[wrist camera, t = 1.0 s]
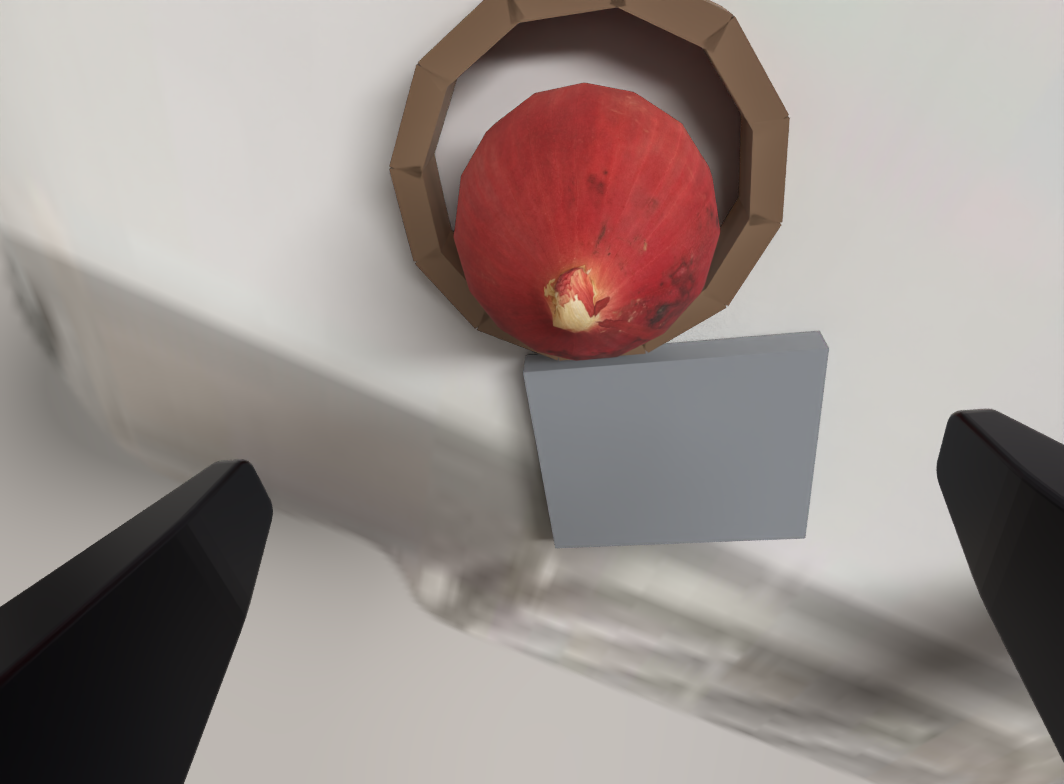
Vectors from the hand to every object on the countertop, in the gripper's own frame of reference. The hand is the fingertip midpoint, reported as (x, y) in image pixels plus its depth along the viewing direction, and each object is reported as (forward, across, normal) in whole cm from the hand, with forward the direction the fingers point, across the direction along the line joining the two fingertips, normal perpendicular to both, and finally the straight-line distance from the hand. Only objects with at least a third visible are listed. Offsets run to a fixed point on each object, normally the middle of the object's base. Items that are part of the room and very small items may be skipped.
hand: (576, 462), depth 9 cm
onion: (+12, 0, 0) cm, 12 cm away
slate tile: (+12, -2, +9) cm, 15 cm away
